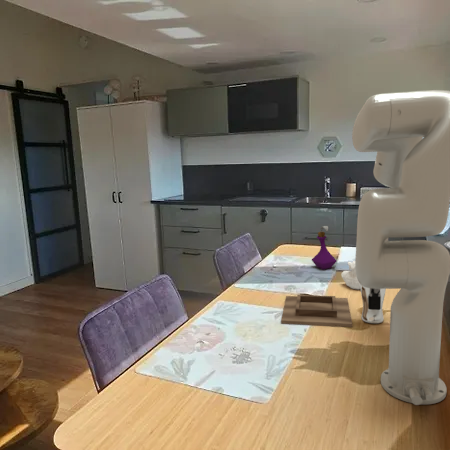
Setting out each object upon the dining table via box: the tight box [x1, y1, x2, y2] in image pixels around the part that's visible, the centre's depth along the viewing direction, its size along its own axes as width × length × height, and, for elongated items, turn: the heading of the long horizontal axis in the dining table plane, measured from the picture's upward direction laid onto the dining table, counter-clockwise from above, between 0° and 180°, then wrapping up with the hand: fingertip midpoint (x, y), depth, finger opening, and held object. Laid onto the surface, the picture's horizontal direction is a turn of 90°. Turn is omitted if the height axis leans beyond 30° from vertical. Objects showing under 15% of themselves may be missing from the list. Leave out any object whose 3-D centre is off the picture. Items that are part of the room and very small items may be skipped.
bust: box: [340, 260, 361, 290], centre depth 144 cm, size 12×8×11 cm
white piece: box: [360, 284, 387, 324], centre depth 117 cm, size 7×7×15 cm
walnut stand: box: [280, 294, 353, 328], centre depth 126 cm, size 20×20×3 cm
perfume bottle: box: [311, 225, 337, 270], centre depth 169 cm, size 8×8×18 cm
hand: (372, 304), depth 118 cm, fingers closed on white piece, 6 cm apart
